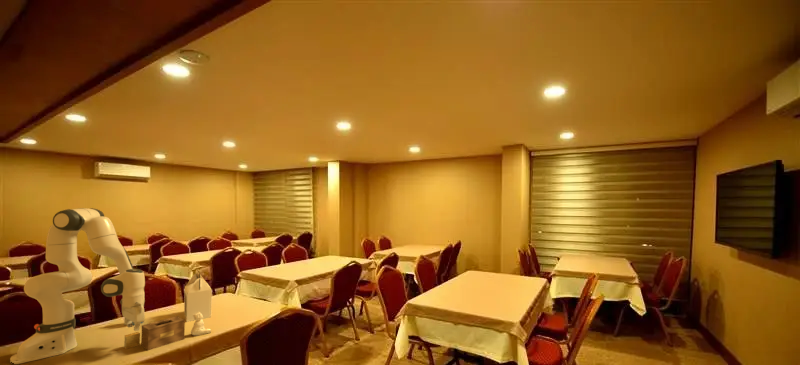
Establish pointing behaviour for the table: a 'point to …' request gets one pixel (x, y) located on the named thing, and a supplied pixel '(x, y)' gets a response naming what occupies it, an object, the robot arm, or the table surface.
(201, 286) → the gable box
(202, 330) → the sitting furry creature
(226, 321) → the table surface
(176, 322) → the coin box
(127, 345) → the token
